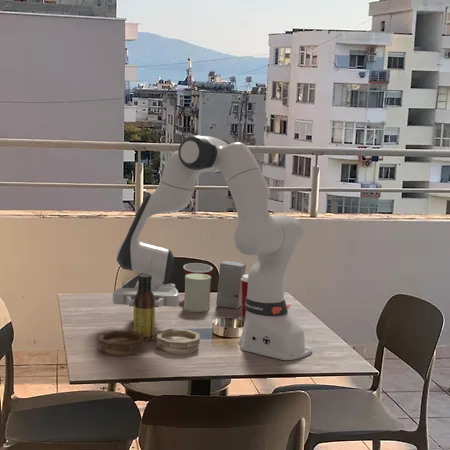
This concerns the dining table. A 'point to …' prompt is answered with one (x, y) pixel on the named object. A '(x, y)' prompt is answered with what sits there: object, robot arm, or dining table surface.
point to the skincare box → (230, 284)
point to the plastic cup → (197, 268)
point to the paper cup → (244, 292)
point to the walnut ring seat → (121, 343)
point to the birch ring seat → (178, 341)
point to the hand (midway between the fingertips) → (144, 304)
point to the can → (197, 292)
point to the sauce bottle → (144, 308)
